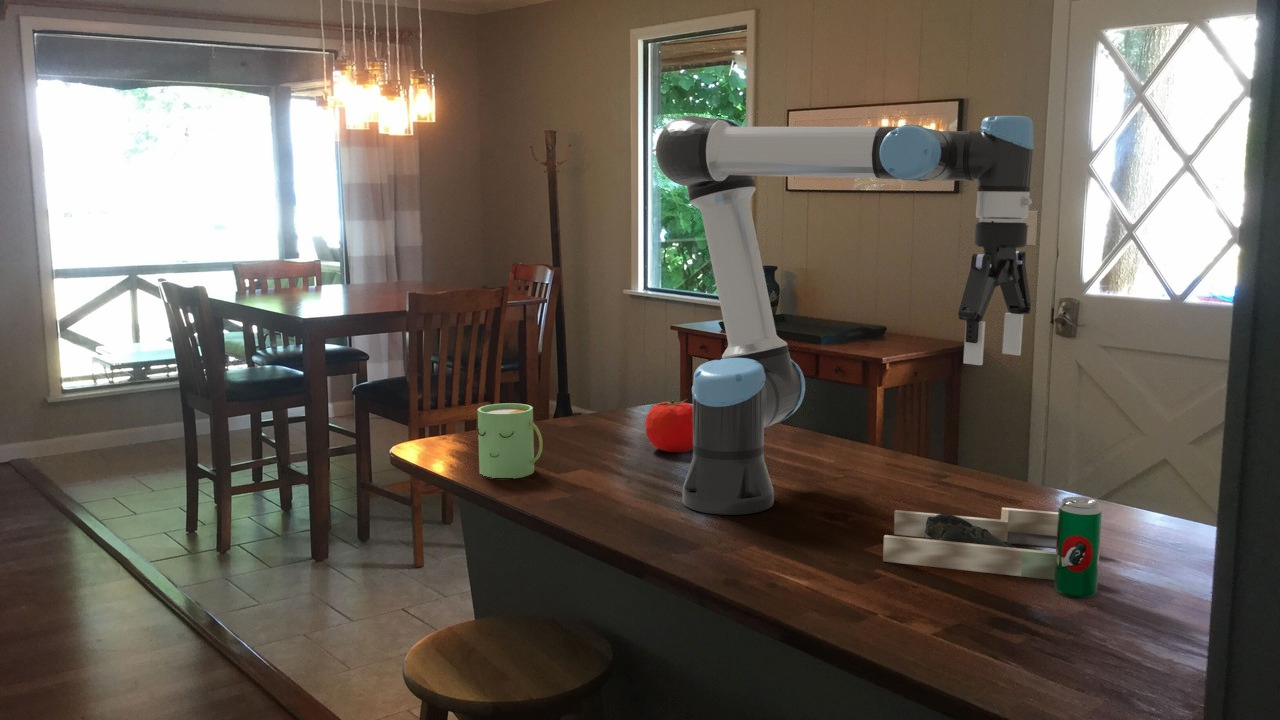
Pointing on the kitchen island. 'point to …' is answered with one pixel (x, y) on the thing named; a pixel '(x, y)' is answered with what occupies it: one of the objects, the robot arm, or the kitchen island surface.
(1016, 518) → the channel
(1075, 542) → the soda can
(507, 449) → the mug
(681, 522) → the kitchen island surface
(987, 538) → the stone
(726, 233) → the robot arm
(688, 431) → the tomato
